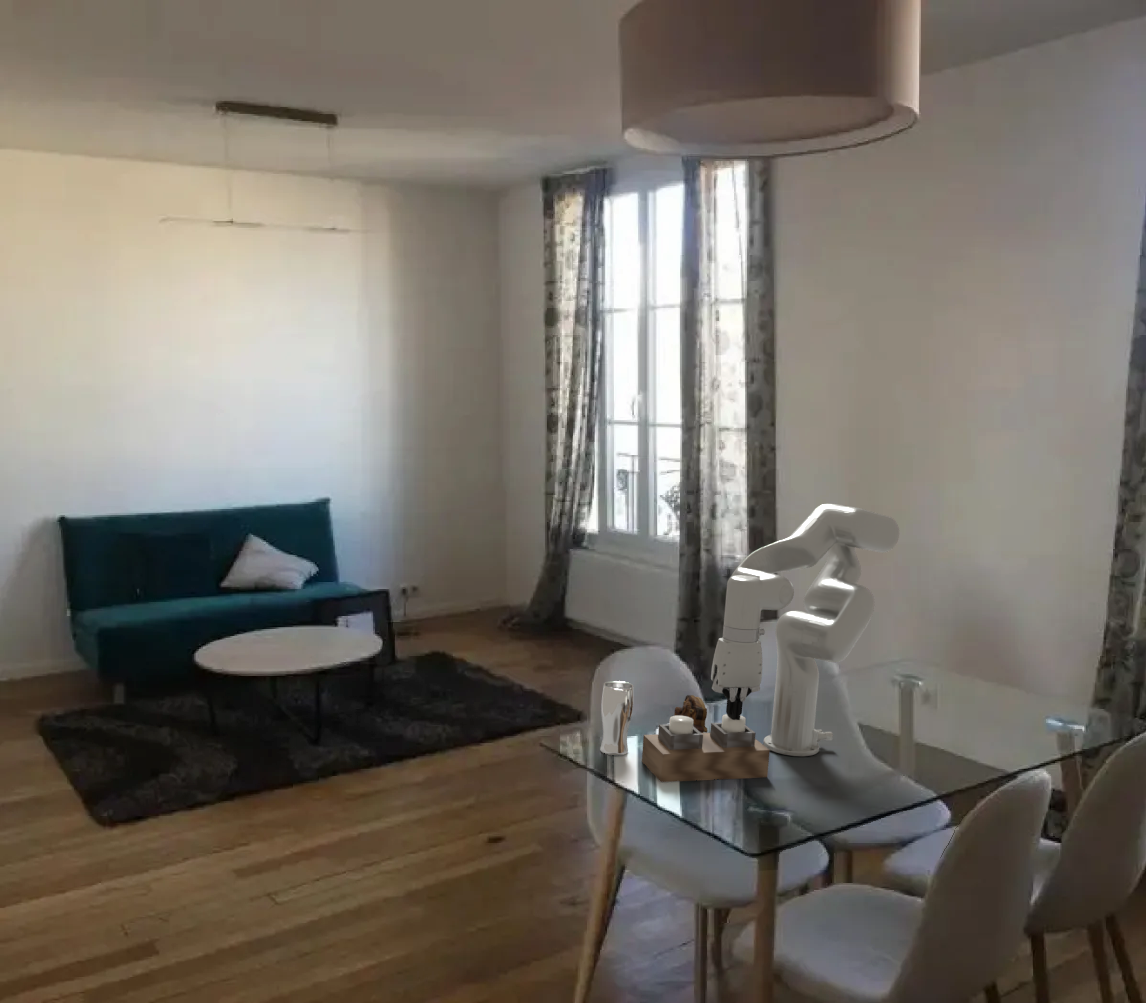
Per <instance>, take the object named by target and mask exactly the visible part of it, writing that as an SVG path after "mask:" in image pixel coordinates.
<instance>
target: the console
mask: <svg viewBox="0 0 1146 1003" xmlns="http://www.w3.org/2000/svg"><path fill="white" fill-rule="evenodd" d="M721 726H722V722H710V731H709V732H704V733H701V732H699V731H698V730H697V729H696V728H695V727H694V726H693V734H672V733H671V732H670V731H669V724H667V723H666V724H658V732H657V734H656V733H655V734H643V738H642V740H643V742H642V754H641V762H642V764H643V765H644V764H645V765H646V766H647V767H646V766H645V765H644V766H645V767H646V768H647V769H648V770H649V771H650V772H651V773H652V774H653V775H654V776H655V778H656V779H657V780H658V781H659V782H660V783H670V782H671V783H672V782H675V783H676V782H692V781H693V782H695V781H696V780H697V781H714V779H715V780H717V779H719V780H734V779H738V780H739V779H759V778H761V779H762V778H768V773H769V764H770V763H769V762H770V751H771V750H769V749H768V748H767V747H765V746H764V744H763V743H762V742H760V741H759V740H758V739H756V731H754V730H752V728H750V727H749V726H748V725H746V724H745V732H730V733H726V732H725V731H724V730H723V729H721Z"/></svg>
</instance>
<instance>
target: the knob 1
mask: <svg viewBox="0 0 1146 1003" xmlns="http://www.w3.org/2000/svg"><path fill="white" fill-rule="evenodd" d="M693 721H694V720H693V719H692V718H690V717H687V716H674V715H673V716H670V717H669V731H670V732H671V733H672V734H693Z"/></svg>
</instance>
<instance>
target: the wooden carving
mask: <svg viewBox="0 0 1146 1003" xmlns="http://www.w3.org/2000/svg"><path fill="white" fill-rule="evenodd" d="M673 716H687V717H690V718H692V719H693V720H694V721H693V726H694V727H695V728H696V729H697V730H698V731H699V732H701V733H708V728H707V727H706V721H707V716H708V709H707V707H706V705H705V703H704V700H703V699H702V697H699V696H695V695H694V694H687V695H686V696H685V698H684V701H683V703H682V707H681V706H680V707H679V706H676V707H675V708H674V715H673Z"/></svg>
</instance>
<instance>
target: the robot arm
mask: <svg viewBox="0 0 1146 1003" xmlns="http://www.w3.org/2000/svg"><path fill="white" fill-rule="evenodd" d="M899 539H900V528H899V524H898V522H897V521H896V520H895V519H894V518H893V517H892V516H889V515H885V514H882V513H878V512H875V511H871V510H868V509H864V508H860V507H857V506H855V507H854V506H847V505H843V504H836V503H824V504H823V503H822V504H820V505H818V506H817V507H816V508H814V509H813V510H812V512H811V513H810V514H809V515H808V516H807V517H805V519H804V520H803V521H802V522H801V523H800V524H799V525H798V526H797V528H795V529H794V530H793V532H792V533H791V534H790V535H789V536H788V537H786V538H783V539H780V540H778V541H775V542H772V543H770V544H767V545H765V546H762V547H760V548H758V549H756V550H754V551H752V552H751V553H750V554H749V555H747V556H746V557H745V558H744V559H743V560H742V562H740V564H739V565H738V566H737V567H736V568H735V570H734V571H733V573H731V576H730V577H729V578H728V580H727V584H726V592H725V605H724V616H723V617H724V618H723V627H722V628H723V629H722V637H720V638H718V640H717V642H716V647H715V649H714V650H715V651H714V654H713V659H712V665H711V672H710V673H711V674H710V679H711V681H712V682H713V683H712V686H711V689H712V691H714V692H715V693H719V694H723V696H724V697H725V698H726V705H725V706H726V707H725V713H726V714H727V716H728V717H730V718H731V719H732V720H735V719H737V720H740V715H741V716H742V715H743V714H742V713H743V704H744V702H745V701H746V700H747V699H746V698H747V697H748V696H749V695H750V694H751V693H756V692H759V691H760V690H761V683H762V680H763V652H762V651H763V650H762V642H761V640H760V636H764V635H765V633H766V632H765V629H764V628H761V627H760V624H761V613H762V612H761V611H762V610H767V611H768V610H769V611H770V610H771V611H778V610H783V609H785V608H786V607H787V606H789V604H790V603H791V602H792V601H793V598H794V593H795V590H794V586H793V583H792V582H791V580H789V579H788V578H787V577H785V576H782V575H779V574H778V573H783V572H790V571H799V570H805V569H809V568H812V567H814V566H815V565H817V564H818V563H819V562H820V561H821V559H822V558H823V557H824V556H825V555H826V554H827V553H828V554H827V559H826V561H825V564H824V565H823V566H822V568H821V570H820V571H819V573H818V574H817V575H816V577H815V579H814V580H813V581H812V583H811V584H810V586H808V587H809V588H808V589H807V591H806V592H805V595H804V596H803V607H804V610H805V611H801V610H790V611H786V612H785V613H783V614H782V615H781V616H780V617H779V618H778V619H777V622H776V625H775V643H776V654H777V655H776V657H777V659H776V661H777V662H776V672H775V673H776V676H775V685H774V695H773V696H774V697H773V698H774V699H773V709H772V721H771V732H770V734H769V735H767V736H765V737H764V738H763V742H762V744H763V745H764V746H765V747H767V748H768V749H769V750H770V751H772V752H774V753H777V754H780V755H785V756H791V757H808V756H813V755H816V754H819V752H820V745H819V743H820V742H821V741H832V740H833V739H834V733H833V732H832V731H823V729H816V728H815V722H816V714H817V712H816V711H817V702H818V701H817V700H818V692H819V683H820V682H819V680H820V672H819V668H818V665H817V662H816V660H820V661H823V662H827V663H831V664H832V663H833V664H837V663H840V662H842V661H844V660H846V659H847V657H848V656H849V655H850V653H851V651H852V650H853V648H854V647H855V646H856V644H857V642H858V641H859V639H860V638H861V636H862V635H863V633H864V631H865V630H866V629H867V627H868V626H869V623H870V621H871V619H872V617H873V614H874V611H875V596H874V595H873V592H872V591H871V590H870V589H869V588H868V587H867V586H864V585H862V584H858V582H859V580H860V578H861V575H862V567H861V564H860V561H859V558H858V556H857V552H856V548H857V549H862V550H867V551H872V552H877V553H888V552H890V551H892V550H893V549H894V548H895V547H896V546H897V544H898V542H899Z"/></svg>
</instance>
